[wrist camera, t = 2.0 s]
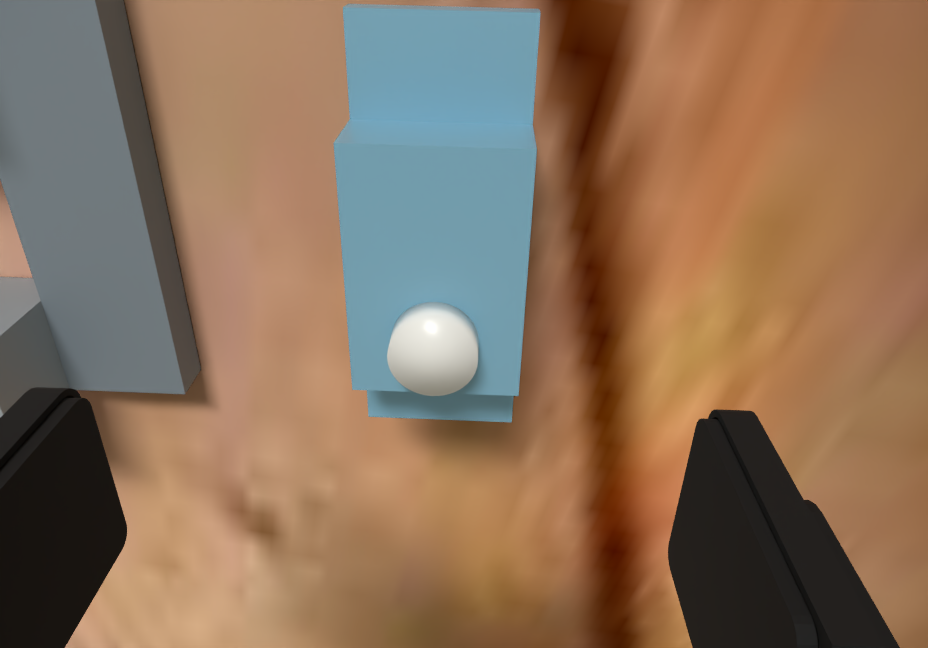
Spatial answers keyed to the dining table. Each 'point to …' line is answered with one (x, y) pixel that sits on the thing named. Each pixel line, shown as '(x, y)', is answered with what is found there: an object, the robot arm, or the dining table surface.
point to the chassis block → (85, 211)
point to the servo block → (437, 205)
